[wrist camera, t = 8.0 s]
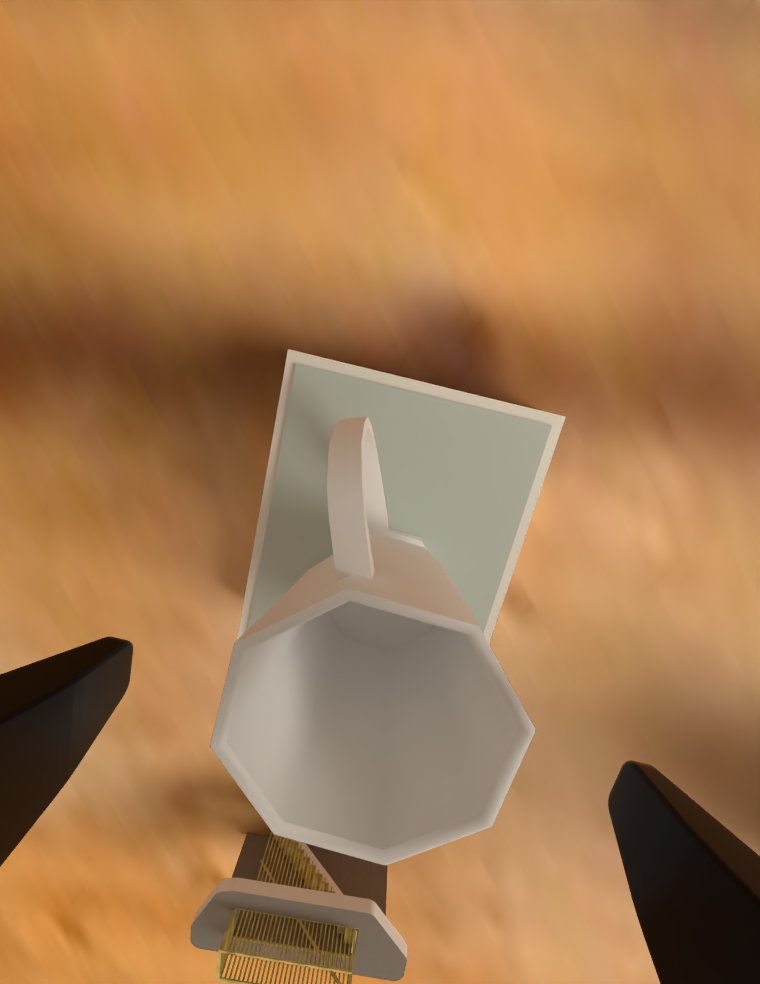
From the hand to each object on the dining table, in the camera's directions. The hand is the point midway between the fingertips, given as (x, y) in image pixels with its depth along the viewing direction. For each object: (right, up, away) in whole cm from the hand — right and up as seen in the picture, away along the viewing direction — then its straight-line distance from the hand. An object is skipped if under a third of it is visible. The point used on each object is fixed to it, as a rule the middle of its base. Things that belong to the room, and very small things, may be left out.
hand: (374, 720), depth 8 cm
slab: (0, +3, +12) cm, 12 cm away
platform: (-3, -15, +17) cm, 23 cm away
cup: (0, +2, +9) cm, 10 cm away
